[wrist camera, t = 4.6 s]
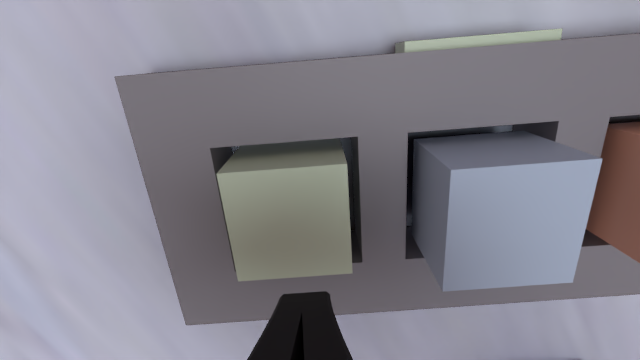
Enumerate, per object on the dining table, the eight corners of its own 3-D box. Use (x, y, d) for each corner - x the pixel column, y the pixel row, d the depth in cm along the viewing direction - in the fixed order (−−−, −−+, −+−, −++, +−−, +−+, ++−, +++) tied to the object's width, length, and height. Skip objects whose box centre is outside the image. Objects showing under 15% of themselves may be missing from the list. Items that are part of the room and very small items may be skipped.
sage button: (344, 224, 17) (352, 273, 13) (255, 231, 17) (238, 281, 14) (339, 137, 16) (347, 163, 12) (241, 144, 16) (216, 173, 12)
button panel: (686, 252, 19) (751, 286, 16) (204, 285, 19) (185, 325, 16) (777, 12, 14) (889, 0, 11) (149, 63, 15) (111, 65, 12)
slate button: (509, 227, 16) (572, 282, 12) (411, 234, 16) (442, 291, 12) (523, 130, 14) (602, 158, 10) (414, 139, 14) (451, 170, 10)
